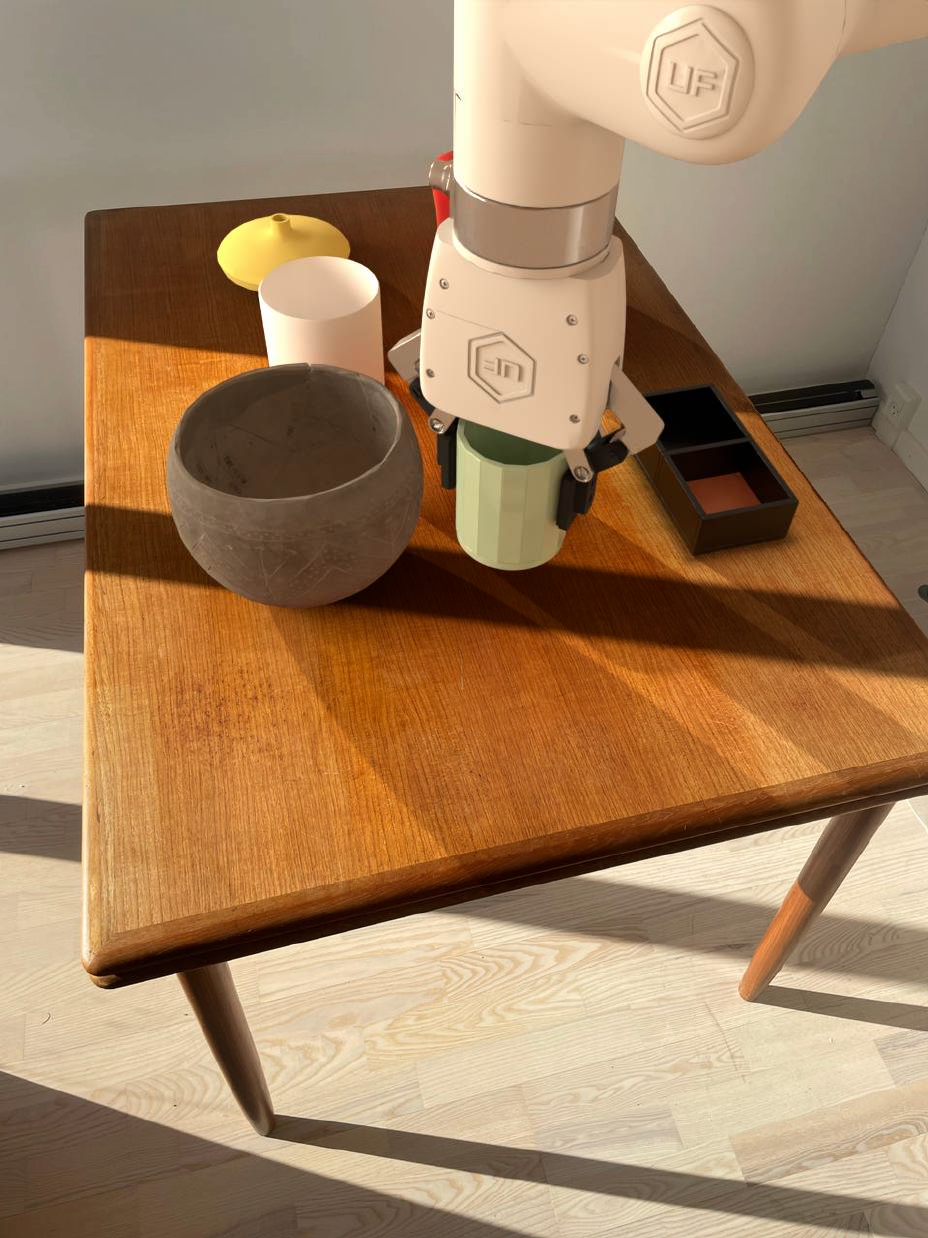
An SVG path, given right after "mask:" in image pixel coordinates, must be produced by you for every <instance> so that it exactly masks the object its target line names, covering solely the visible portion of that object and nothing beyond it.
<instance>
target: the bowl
mask: <svg viewBox="0 0 928 1238" xmlns="http://www.w3.org/2000/svg"><path fill="white" fill-rule="evenodd" d="M423 461H424V460H423V453H422V450H421V447H420V443H419V439H418V437H417V434H416V431H415V428H414V425H413V423H412V419H411V417H410V415H409V413H408V411H407V409H406V407H405V405H404V404H403V402H402V401H401V400H400V399H399V398H398V397H397V396H396V395H395V394H394V393H393V392H392V391H391V390H390V389H389V388H388V387H387V386H384V385H383V384H382V383H381V382H379V381H377V380H375V379H373V378H372V377H370V376H367V375H365V374H362V373H360V374H359V373H358V372H355V371H351V370H348V369H344V368H340V367H335V366H331V365H326V364H311V365H310V366H309V364H308V363H293V364H282V365H276V366H270V365H269V366H264V367H258V368H254V369H250V370H247V371H243V372H241V373H239V374H237V375H234V376H232V377H229V378H227V379H225V380H223V381H221V382H220V383H218V384H216V385H214V386H212V387H211V388H209V389H207V390H206V391H203V393H201V394H200V395H199V396H198V397H197V398H195V400H194V401H193V402H192V403H191V404H190V405H189V406H188V407H187V408H186V409H185V410H184V411H183V413H182V415H181V417H180V419H179V421H178V423H177V425H176V427H175V428H174V430H173V433H172V437H171V439H170V442H169V446H168V452H167V459H166V488H167V496H168V501H169V506H170V510H171V515H172V519H173V521H174V523H175V526H176V529H177V531H178V534H179V537H180V539H181V541H182V543H183V544H184V546H185V548H186V549H187V550H188V551H189V553H190V554H191V556H192V557H193V559H194V560H195V561H196V562H197V564H198V565H199V566H201V568H202V569H203V570H204V571H205V572H206V573H207V574H208V575H209V576H210V577H211V578H212V579H214V581H216V582H218V583H219V584H220V585H222V586H223V587H224V588H226V589H227V590H228V591H230V592H232V593H233V594H236V595H238V596H240V597H242V598H244V599H247V600H249V601H251V602H254V603H259V604H262V605H265V606H270V607H278V608H284V609H307V608H309V609H310V608H314V607H320V606H325V605H330V604H332V603H335V602H338V601H341V600H343V599H346V598H348V597H351V596H354V595H355V594H357V593H360V592H361V591H363V590H365V589H366V588H368V587H369V586H370V585H372V584H374V583H375V582H376V581H377V580H378V579H379V578H381V577H382V576H383V575H384V574H385V573H387V571H388V570H390V568H392V566H393V565H394V564H395V562H396V561H398V559H399V558H400V556H401V555H403V553H404V551H405V550H406V549H407V547H408V545H409V544H410V541H411V539H412V537H413V536H414V534H415V532H416V528H417V526H418V524H419V521H420V518H421V513H422V505H423V500H424V491H425V472H424V471H425V470H424V462H423Z"/></svg>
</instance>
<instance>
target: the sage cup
mask: <svg viewBox="0 0 928 1238" xmlns="http://www.w3.org/2000/svg"><path fill="white" fill-rule="evenodd" d="M568 468H569V465H568V462H567V460H566V457H565V455H564V452H563V450H561V449H556V448H553V447H549V446H546V445H542V444H539V443H536V442H533V441H530V440H527V439H524V438H521V437H518V436H514V435H511V434H508V433H505V432H502V431H499V430H496V429H493V428H490V427H487V426H484V425H481V424H478V423H475V422H472V421H469V420H466V419H463V418H460V419H459V421H458V429H457V473H456V487H455V498H456V499H455V530H456V537H457V540H458V543H459V544H460V546H461V548H462V549H463V551H464V552H465V553H466V554H467V555H468V556H469V557H471V558H472V559H473V560H475V561H477V562H478V563H480V564H482V565H484V566H487V567H489V568H493V569H497V570H503V571H523V570H531V569H532V568H536V567H538V566H541V565H544V564H545V563H547V562H548V561H550V560H552V558H554V557H555V556H556V555H557V554H558V553H559V551H560V550H561V549H562V547H563V545H564V542H565V537H566V535H567V531H564V530H561V529H558V526H557V525H556V518H557V510H558V501H559V493H560V485H561V480H562V477H563V475H564V474H565V472H566V471H567V470H568Z"/></svg>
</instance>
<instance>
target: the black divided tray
mask: <svg viewBox="0 0 928 1238" xmlns="http://www.w3.org/2000/svg"><path fill="white" fill-rule="evenodd" d="M640 394H641V395H642V396H643V397H644V398H645V400H646V401H647V402H648V403H649V405H650V406H651V407H652V408H653V409H654V411H655V412H656V413H657V414H658V416H659V417H660V418H661V419H662V421H663V422H664V429H663V431H662V433H661V434H660V436H659V438H658V439H657V441H656V442H655V443H654V444H653V445H651V446H649V447H647V448H646V449H644V450H642V451H640V452H638V453H636V454H634V455H632V456H633V458H634V460H635V461H636V463H637V465H638V466H639V468H640V470H641V472H642V473H643V475H644V476H645V478H646V480H647V482H648V483H649V485H650V486H651V488H652V489H653V491H654V493H655V495H656V497H657V498H658V500H659V502H660V504H661V505H662V507H663V508H664V510H665V513H667V515H668V518H670V520H671V522H672V523H673V525H674V527H675V529H676V530H677V533H678V534H679V535H680V537H681V539H682V540H683V542H684V544H685V545H686V547H687V549H688V550H689V552H690V554H691V555H692V556H693V557H695V556H700V555H705V554H710V553H716V552H721V551H725V550H731V549H736V548H741V547H747V546H751V545H757V544H761V543H767V542H772V541H777V540H781V539H786V538H787V536H788V532H789V530H790V527H791V525H792V522H793V521H794V520H793V519H794V517H795V514H796V513H797V509H798V507H799V504H800V500H799V498H798V497H797V496H796V494H795V493H794V492H793V491H792V489H791V487H789V485H788V483H787V482H786V481H785V480H784V478H783V476H782V475H781V473H780V472H779V471H778V470H777V469H776V467H775V466H774V464H773V463H772V461H771V460H770V458H768V456H767V455H766V453H765V452H764V450H763V449H762V448H761V446H760V445H759V444H758V443H757V441H756V440H755V439H754V437H753V436H752V434H751V433H750V431H749V430H748V429H747V427H746V426H745V424H744V423H743V422H742V420H741V419H740V418H739V416H738V415H737V414H736V413H735V411H734V410H733V408H732V407H731V405H730V404H729V402H728V401H727V400H726V399H725V397H724V396H723V394H722V393H721V391H720V390H719V389H718V388H717V386H716V385H715V383H714V382H713V381H712V382H706V383H705V382H704V383H700V384H699V383H698V384H693V385H686V386H681V387H675V388H674V387H673V388H669V389H663V390H656V391H649V392H644V393H640ZM621 428H625V427H624V425H623V424H622V423H621V422H620V428H619V429H621Z"/></svg>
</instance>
